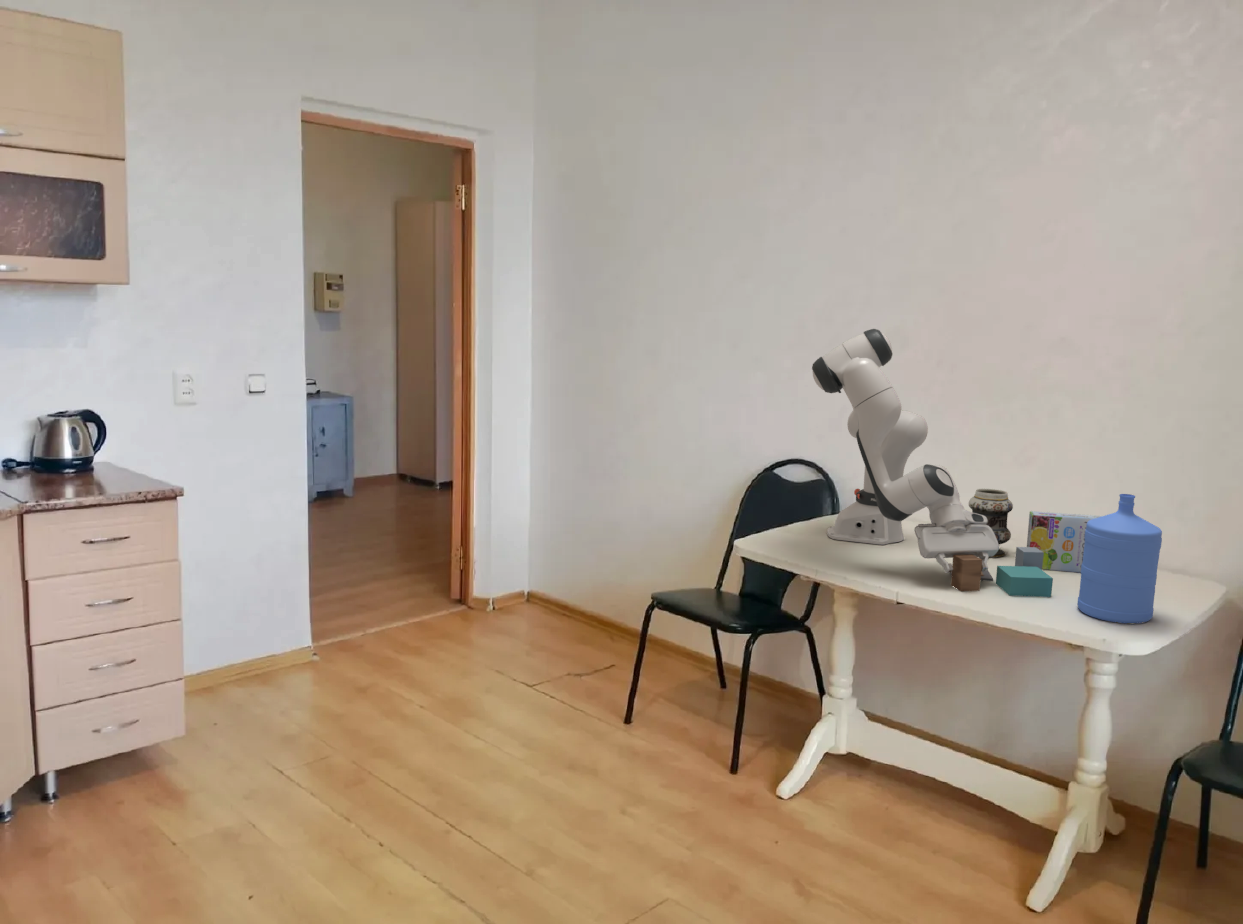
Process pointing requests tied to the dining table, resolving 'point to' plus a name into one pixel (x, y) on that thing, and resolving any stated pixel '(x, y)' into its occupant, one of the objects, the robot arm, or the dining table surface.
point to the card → (984, 576)
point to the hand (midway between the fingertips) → (966, 571)
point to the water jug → (1120, 566)
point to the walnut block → (966, 572)
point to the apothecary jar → (993, 512)
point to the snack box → (1059, 539)
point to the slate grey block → (1029, 557)
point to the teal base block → (1024, 581)
